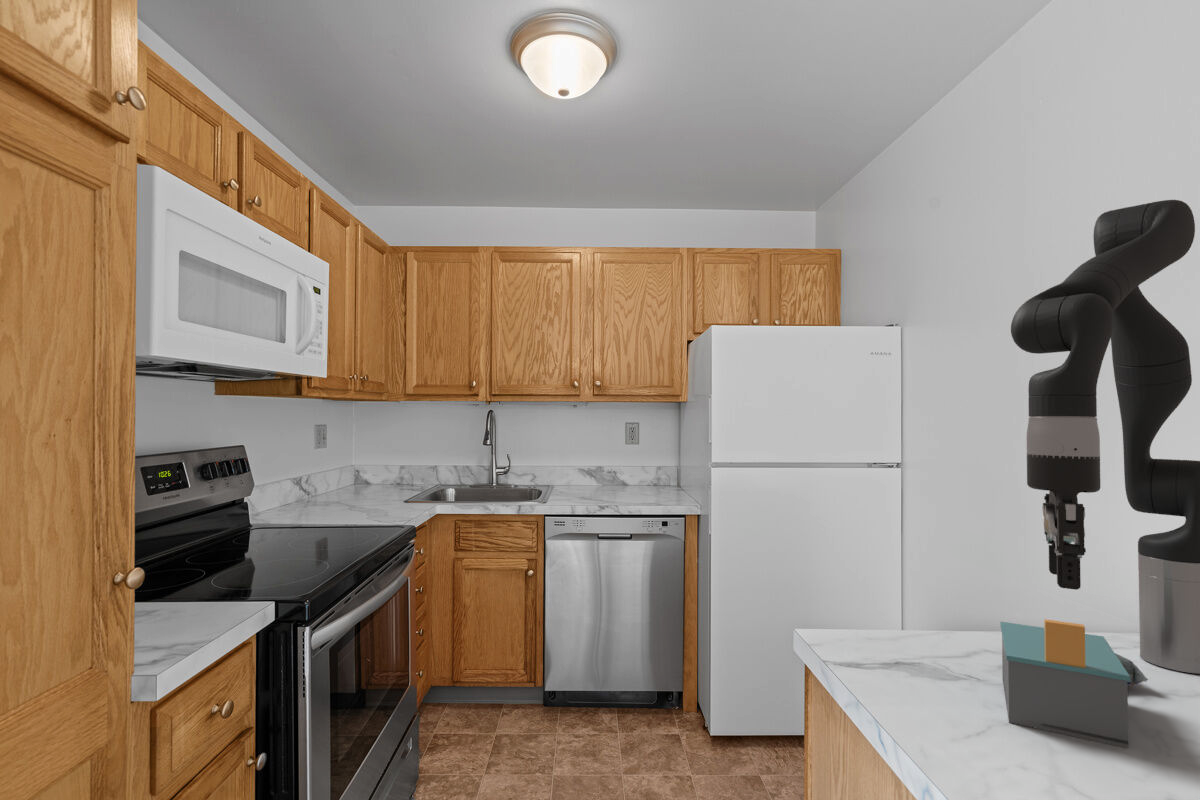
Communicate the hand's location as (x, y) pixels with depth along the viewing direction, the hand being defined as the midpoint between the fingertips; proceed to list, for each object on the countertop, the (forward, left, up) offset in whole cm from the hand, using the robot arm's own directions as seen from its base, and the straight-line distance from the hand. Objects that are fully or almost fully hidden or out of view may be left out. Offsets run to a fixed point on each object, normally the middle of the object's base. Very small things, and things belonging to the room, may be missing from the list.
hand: (1063, 580), depth 79 cm
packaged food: (-24, +5, -19) cm, 31 cm away
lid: (-7, 0, -11) cm, 13 cm away
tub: (-7, 0, -19) cm, 20 cm away
